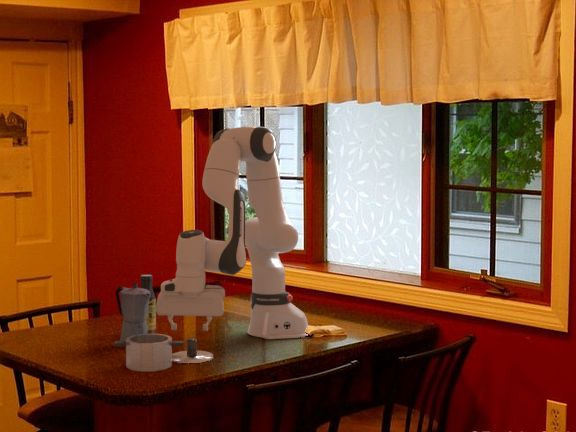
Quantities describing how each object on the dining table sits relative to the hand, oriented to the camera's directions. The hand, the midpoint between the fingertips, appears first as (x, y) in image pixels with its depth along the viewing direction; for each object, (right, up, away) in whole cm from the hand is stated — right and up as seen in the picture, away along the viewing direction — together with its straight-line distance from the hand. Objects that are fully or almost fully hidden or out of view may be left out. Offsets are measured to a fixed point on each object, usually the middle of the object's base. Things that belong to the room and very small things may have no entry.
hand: (189, 330), depth 283 cm
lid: (+1, -9, +1) cm, 9 cm away
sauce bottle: (-18, -6, +33) cm, 38 cm away
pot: (-11, -10, -7) cm, 16 cm away
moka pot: (-20, -7, +19) cm, 29 cm away
